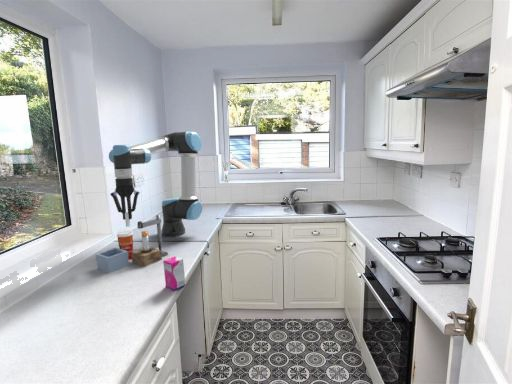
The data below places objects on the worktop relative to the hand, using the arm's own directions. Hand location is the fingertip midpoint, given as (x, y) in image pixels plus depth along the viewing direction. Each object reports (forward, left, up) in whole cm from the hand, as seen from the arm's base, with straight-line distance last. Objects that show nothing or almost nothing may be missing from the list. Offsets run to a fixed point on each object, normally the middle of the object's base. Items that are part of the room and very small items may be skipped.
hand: (128, 225), depth 144 cm
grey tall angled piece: (-8, +6, -17) cm, 19 cm away
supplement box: (+7, +39, -19) cm, 44 cm away
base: (-13, +6, -18) cm, 23 cm away
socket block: (-5, +6, -18) cm, 20 cm away
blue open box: (+8, -2, -18) cm, 20 cm away
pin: (-5, +6, -18) cm, 20 cm away
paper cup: (-1, -6, -19) cm, 20 cm away
